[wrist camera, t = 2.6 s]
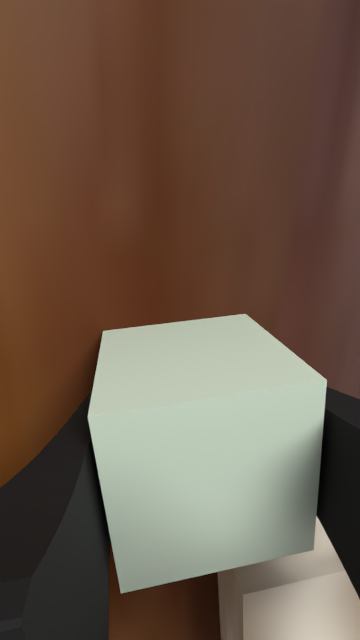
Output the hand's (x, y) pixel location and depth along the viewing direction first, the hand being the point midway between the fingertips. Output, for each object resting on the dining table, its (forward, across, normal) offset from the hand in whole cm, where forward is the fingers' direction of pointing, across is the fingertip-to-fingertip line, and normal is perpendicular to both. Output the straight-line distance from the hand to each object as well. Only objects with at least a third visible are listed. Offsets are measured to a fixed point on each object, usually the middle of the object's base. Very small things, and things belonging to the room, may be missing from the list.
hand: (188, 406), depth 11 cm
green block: (+1, 0, 0) cm, 1 cm away
